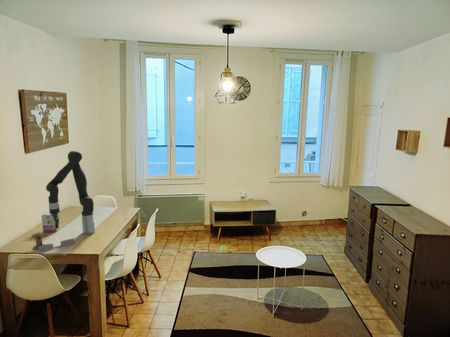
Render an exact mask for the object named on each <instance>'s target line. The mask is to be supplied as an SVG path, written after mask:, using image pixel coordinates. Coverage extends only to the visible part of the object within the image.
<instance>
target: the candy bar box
mask: <svg viewBox="0 0 450 337" xmlns="http://www.w3.org/2000/svg"><path fill="white" fill-rule="evenodd" d="M41 221H42V232H43V233H57V232H58V231H59V229H54V226H53V219H52V214H50V213H43V214H42V215H41Z"/></svg>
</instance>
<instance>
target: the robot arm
mask: <svg viewBox="0 0 450 337" xmlns="http://www.w3.org/2000/svg"><path fill="white" fill-rule="evenodd" d="M82 159H83V154H82V153H81V152H79V151H75V150H72V151H69V152H68V154H67V160H68V162H67V163H66V165H64V166H63V167H62V168H61V169H59V171H58V172H57V173H56V175H55V176H54V177H53V179H51V180H49V182H48V183H47V184H46V187H45V190H46V191H47V192H49V196H48V197H47V198H48V209H49V210H48V211H49V214H52V219H54V221H55V228H58V223H59V224H60V216H59V213H60V212H61V210H60V209H61V208H60V202H59V191H60V189H59V186H58V185H60V184H62V183H63V182H64V181H65V179H66V178H67V177H68V175H69V173H71V171H72V175H73V180H74V183H75V186H76V190H77V193H78V198H79V203H80V205H81V206H82V211H81V222H82V223H81V224H82V234H84V235H89V234H94V233H95V232H96V231H95V230H96V229H95V222H94V208H95V207H94V200H93V198H91V197H90V196H89V194H88V191H87V190H88V189H87V188H88V187H87V186H88V182H87V177H86V174H85V173H84V170H83V169H82V167H81V164H80V162H81V161H82Z"/></svg>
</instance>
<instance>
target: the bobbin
mask: <svg viewBox="0 0 450 337" xmlns="http://www.w3.org/2000/svg"><path fill="white" fill-rule="evenodd" d="M44 236H46V232H43V231H42V232H41V231H40V232H35V233H32V234H31V238H33V239H35V245H34V246H33V247H32V249H33V250H35V251H36V250H37V251H39V250H38V246H42V245H46V243H43V238H44Z"/></svg>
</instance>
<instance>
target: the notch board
mask: <svg viewBox="0 0 450 337" xmlns="http://www.w3.org/2000/svg"><path fill="white" fill-rule="evenodd" d="M59 243H60V245H56V246H54V244H53V242H51V243H47V244H46V243H45V245H42V246H38V250H37V251H38V253H40V252H45V251H49V250H53V249H58V248H61V247H66V246H70V245H74V244H75V238H74V237H73V238H69V239H65V240H60V242H59Z"/></svg>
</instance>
